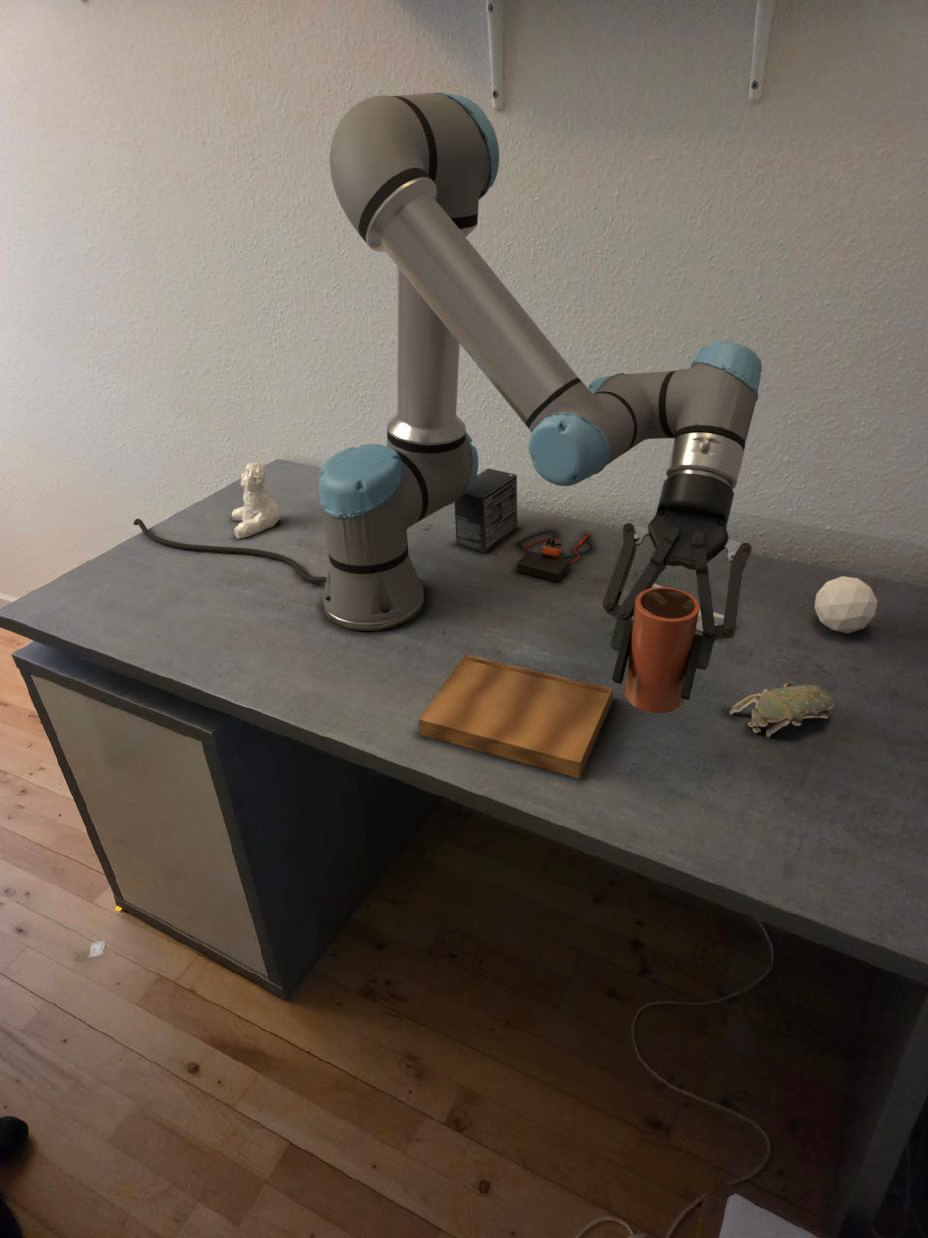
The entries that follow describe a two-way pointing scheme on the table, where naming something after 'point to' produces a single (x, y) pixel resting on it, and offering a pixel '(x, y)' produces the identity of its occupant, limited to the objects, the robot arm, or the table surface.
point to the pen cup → (660, 648)
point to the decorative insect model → (785, 706)
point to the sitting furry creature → (255, 504)
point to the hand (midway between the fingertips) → (650, 689)
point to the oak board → (518, 714)
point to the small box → (487, 511)
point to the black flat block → (547, 560)
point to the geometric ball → (845, 604)
